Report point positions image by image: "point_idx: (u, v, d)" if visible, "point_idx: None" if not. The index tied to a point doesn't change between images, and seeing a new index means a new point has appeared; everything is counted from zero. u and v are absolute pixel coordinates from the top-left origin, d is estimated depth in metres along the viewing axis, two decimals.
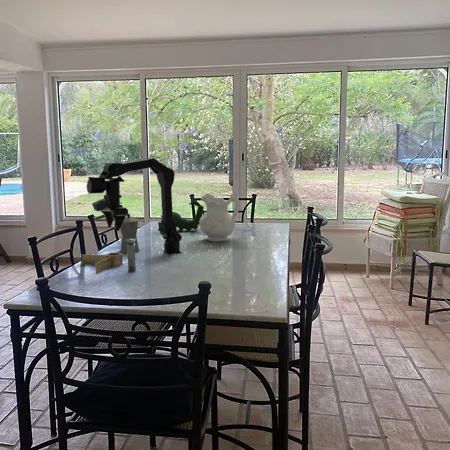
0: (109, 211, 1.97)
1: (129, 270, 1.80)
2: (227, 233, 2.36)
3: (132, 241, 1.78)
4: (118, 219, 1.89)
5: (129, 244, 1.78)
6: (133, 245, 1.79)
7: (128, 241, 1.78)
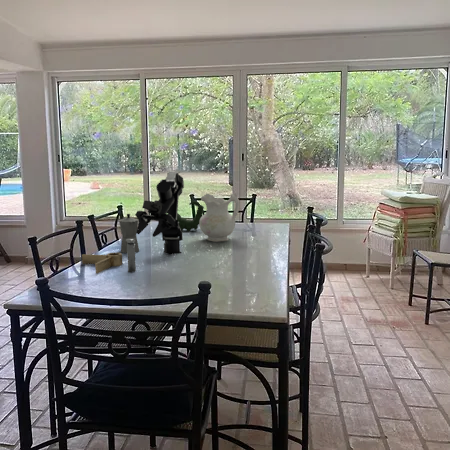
0: (144, 220, 1.92)
1: (129, 270, 1.80)
2: (227, 233, 2.36)
3: (132, 241, 1.78)
4: (161, 226, 1.85)
5: (129, 244, 1.78)
6: (133, 245, 1.79)
7: (128, 241, 1.78)
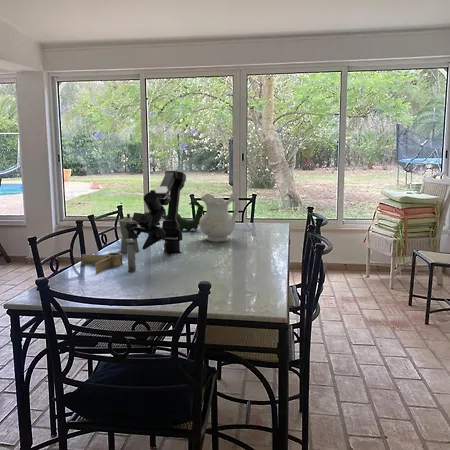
0: (134, 233, 1.88)
1: (129, 270, 1.80)
2: (227, 233, 2.36)
3: (132, 241, 1.78)
4: (151, 239, 1.81)
5: (129, 244, 1.78)
6: (133, 245, 1.79)
7: (128, 241, 1.78)
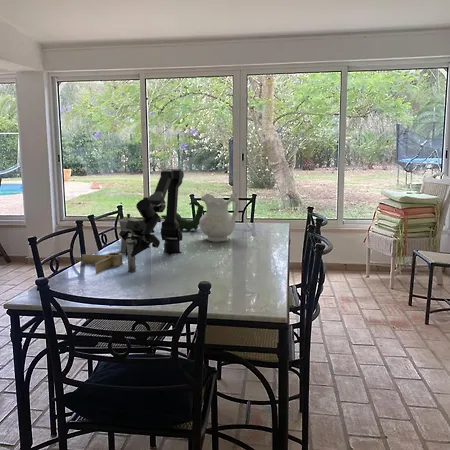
0: None
1: (129, 270, 1.80)
2: (227, 233, 2.36)
3: (132, 241, 1.78)
4: (140, 246, 1.80)
5: (129, 244, 1.78)
6: (133, 245, 1.79)
7: (128, 241, 1.78)
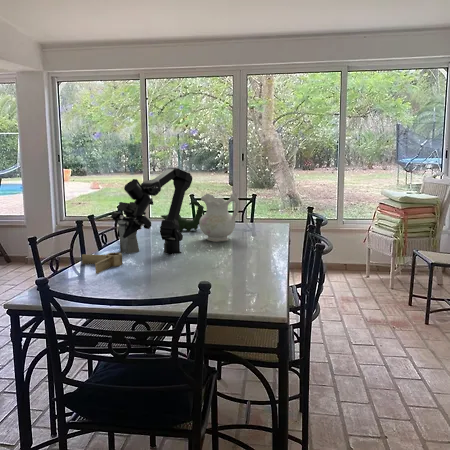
0: None
1: (121, 251, 1.84)
2: (227, 233, 2.36)
3: (124, 222, 1.81)
4: (131, 227, 1.84)
5: (121, 225, 1.82)
6: (125, 226, 1.82)
7: (120, 222, 1.81)
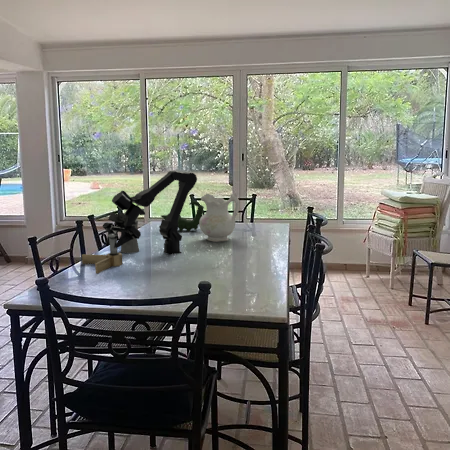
0: (114, 232, 1.95)
1: None
2: (227, 233, 2.36)
3: (114, 236, 1.88)
4: (124, 238, 1.89)
5: (111, 239, 1.89)
6: (115, 240, 1.89)
7: (110, 236, 1.88)
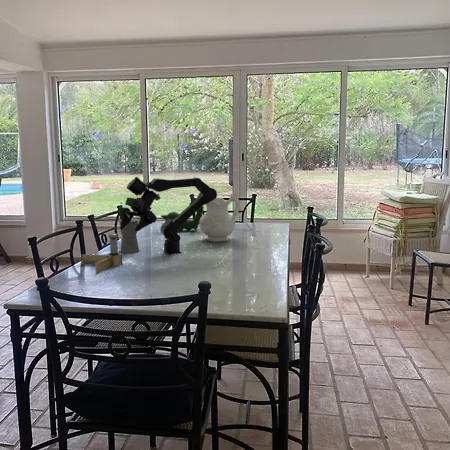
0: (127, 216, 2.02)
1: None
2: (227, 233, 2.36)
3: (114, 236, 1.88)
4: (143, 222, 1.95)
5: (112, 239, 1.89)
6: (115, 240, 1.89)
7: (111, 236, 1.88)
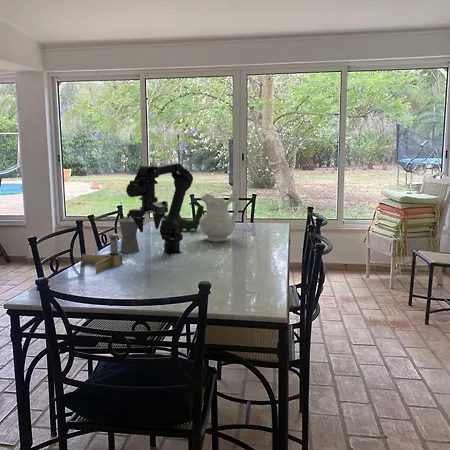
0: None
1: None
2: (227, 233, 2.36)
3: (115, 236, 1.89)
4: None
5: (112, 239, 1.89)
6: (116, 240, 1.90)
7: (111, 236, 1.88)
